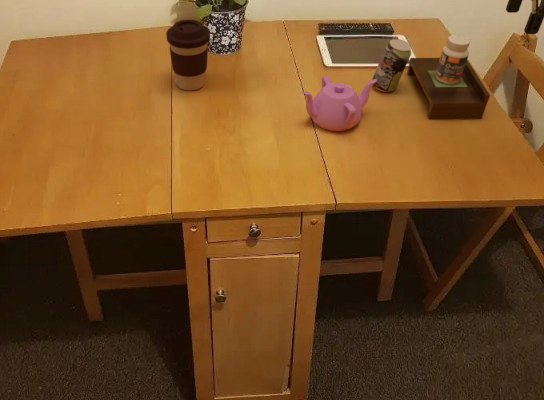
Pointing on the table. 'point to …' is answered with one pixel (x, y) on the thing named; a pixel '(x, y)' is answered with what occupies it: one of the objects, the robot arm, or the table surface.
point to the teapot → (337, 105)
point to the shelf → (450, 91)
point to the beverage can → (392, 65)
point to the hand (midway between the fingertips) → (520, 22)
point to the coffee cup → (189, 53)
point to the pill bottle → (453, 59)
